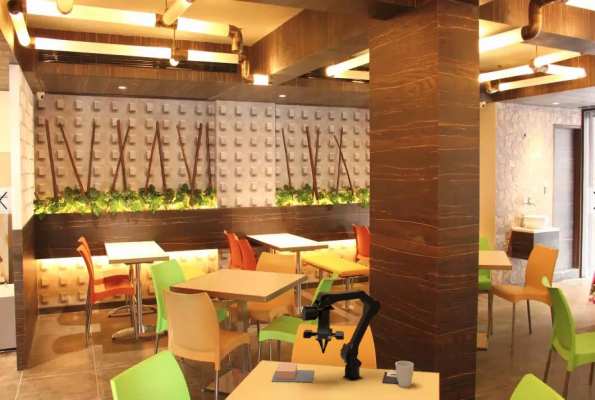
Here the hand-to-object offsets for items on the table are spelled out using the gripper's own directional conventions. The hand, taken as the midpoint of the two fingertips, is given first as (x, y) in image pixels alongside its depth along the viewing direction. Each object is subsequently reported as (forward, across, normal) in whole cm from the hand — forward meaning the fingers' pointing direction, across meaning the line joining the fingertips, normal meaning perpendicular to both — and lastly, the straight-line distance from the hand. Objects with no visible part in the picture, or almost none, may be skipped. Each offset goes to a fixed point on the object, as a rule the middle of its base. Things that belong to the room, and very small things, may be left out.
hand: (323, 353), depth 253 cm
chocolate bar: (+13, +33, +8) cm, 36 cm away
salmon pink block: (+11, -18, +6) cm, 22 cm away
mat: (+13, -14, +6) cm, 20 cm away
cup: (+12, +37, -2) cm, 39 cm away
